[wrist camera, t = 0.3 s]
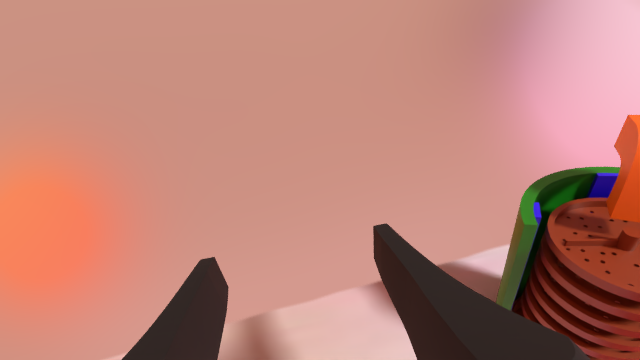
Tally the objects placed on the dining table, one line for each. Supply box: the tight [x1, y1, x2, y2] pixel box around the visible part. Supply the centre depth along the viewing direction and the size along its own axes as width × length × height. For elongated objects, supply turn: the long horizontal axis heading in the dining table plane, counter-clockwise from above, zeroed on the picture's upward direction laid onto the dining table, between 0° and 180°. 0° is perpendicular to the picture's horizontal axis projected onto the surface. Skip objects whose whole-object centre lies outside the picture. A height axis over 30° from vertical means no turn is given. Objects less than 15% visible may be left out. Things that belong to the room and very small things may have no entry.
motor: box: [496, 115, 640, 360], centre depth 18 cm, size 10×9×20 cm
